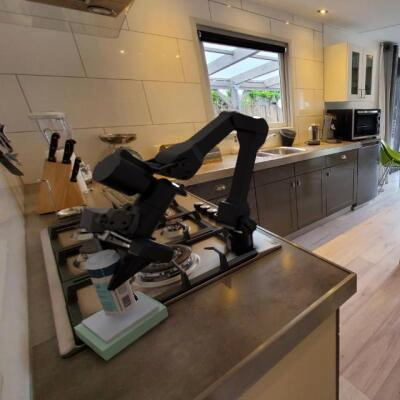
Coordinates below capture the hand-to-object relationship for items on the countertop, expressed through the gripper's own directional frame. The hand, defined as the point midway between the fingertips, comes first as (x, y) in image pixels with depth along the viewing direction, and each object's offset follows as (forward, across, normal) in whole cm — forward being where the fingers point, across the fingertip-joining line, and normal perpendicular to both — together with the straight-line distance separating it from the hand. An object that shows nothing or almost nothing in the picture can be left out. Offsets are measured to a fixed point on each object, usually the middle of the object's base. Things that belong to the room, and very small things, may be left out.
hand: (102, 285), depth 44 cm
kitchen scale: (+7, 0, +8) cm, 11 cm away
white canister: (+4, 0, +6) cm, 7 cm away
